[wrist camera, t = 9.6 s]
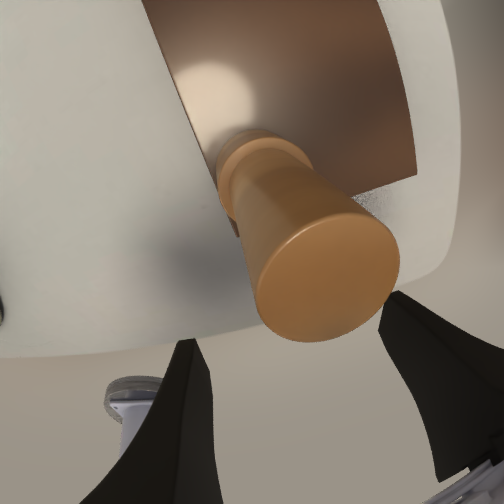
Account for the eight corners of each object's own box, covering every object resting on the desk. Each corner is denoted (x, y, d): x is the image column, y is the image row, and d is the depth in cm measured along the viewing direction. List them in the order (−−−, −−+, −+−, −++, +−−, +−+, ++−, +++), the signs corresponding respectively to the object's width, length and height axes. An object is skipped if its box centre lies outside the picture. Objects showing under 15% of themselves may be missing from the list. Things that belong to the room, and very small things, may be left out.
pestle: (296, 197, 13) (399, 329, 6) (223, 210, 13) (248, 371, 6) (289, 124, 12) (428, 178, 4) (209, 136, 11) (208, 211, 4)
